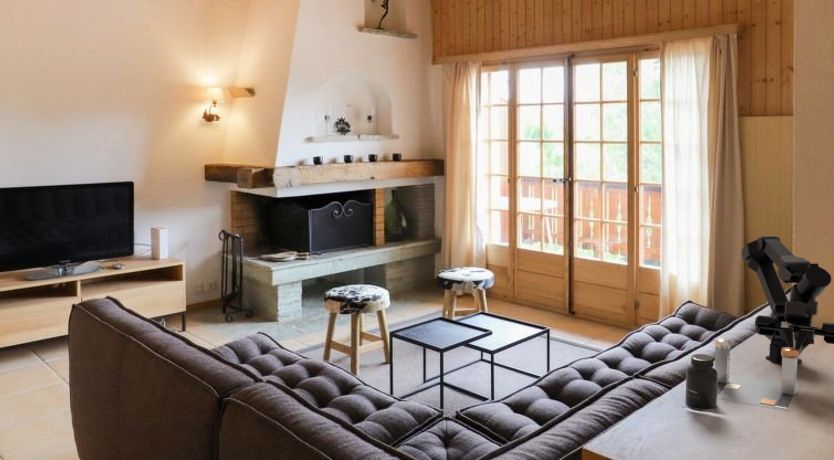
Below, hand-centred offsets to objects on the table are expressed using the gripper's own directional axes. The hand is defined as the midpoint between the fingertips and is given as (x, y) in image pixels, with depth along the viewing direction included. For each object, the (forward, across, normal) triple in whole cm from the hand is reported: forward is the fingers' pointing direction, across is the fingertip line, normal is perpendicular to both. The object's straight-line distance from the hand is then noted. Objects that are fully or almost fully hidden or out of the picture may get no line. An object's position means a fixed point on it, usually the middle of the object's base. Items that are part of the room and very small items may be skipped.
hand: (793, 359), depth 171 cm
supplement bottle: (+20, -16, -9) cm, 27 cm away
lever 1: (+8, -15, +2) cm, 17 cm away
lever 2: (+8, 0, +2) cm, 8 cm away
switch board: (+10, -8, +1) cm, 13 cm away
